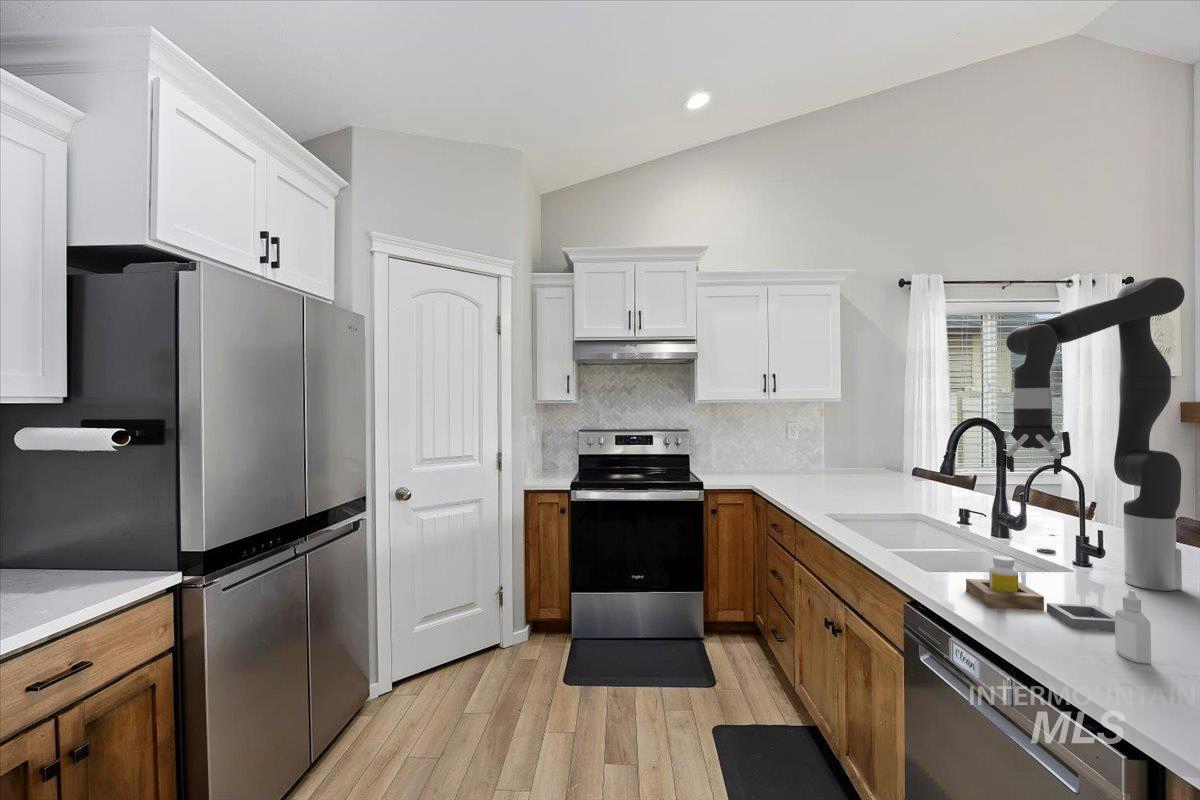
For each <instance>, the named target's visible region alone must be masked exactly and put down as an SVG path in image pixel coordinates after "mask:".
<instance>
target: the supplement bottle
mask: <svg viewBox="0 0 1200 800" xmlns="http://www.w3.org/2000/svg"><path fill="white" fill-rule="evenodd" d="M1014 566H1015V558H1013V557H1009V556H1004V555H995V556H992V565H991V566H990V567H989V570H988V571H989V572H988V573H989V579H988V580H989V584H990V589H991V590H993V591H996V592H1018V582H1019V571H1018V570H1017V569H1016V568H1015V567H1014Z"/></svg>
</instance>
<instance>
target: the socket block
mask: <svg viewBox="0 0 1200 800" xmlns="http://www.w3.org/2000/svg"><path fill="white" fill-rule="evenodd" d="M965 592H966V593H968V594H969V595H971V596H972V597H973V598H975V599H976V600H977V601H979V602H980V603H981V604H983V605H984V606H985V607H987V608H989V609H1005V608H1006V609H1007V610H1009V609H1010V610H1024V609H1026V610H1027V611H1028V610H1029V611H1043V612H1044V611H1045V596H1043V595H1042V594H1040V593H1038V592H1037V591H1035V590H1034V589H1031V588H1030V587H1028V586H1026V585H1025V584H1023V583H1021V582H1019V581H1018V592H996V591H993V590H991V589H990V584H989V579H981V578H980V579H979V578H978V579H977V578H976V579H975V578H965Z"/></svg>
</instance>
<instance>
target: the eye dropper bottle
mask: <svg viewBox="0 0 1200 800" xmlns="http://www.w3.org/2000/svg"><path fill="white" fill-rule="evenodd" d="M1114 616H1115V631H1114V645H1115V646H1114V647H1115V651H1116V653H1117V654H1118V655H1119V656H1121V657H1122V658H1124V659H1125V660H1128V661H1131V662H1133V663H1136V664H1144V665H1145V664H1147V665H1149V664H1151V663H1152V636H1151V635H1152V631H1151V629H1152V628H1151V627H1152V626H1151V621H1150V619H1149V618H1148V617H1147V615H1145V613H1144V612H1142V599H1141V598H1140V597H1137V595H1136V592H1135V590H1133V589H1129V590H1128V593H1127V595H1123V596H1122V608H1121V607H1120V608H1118V609H1117V608H1116V609H1115V611H1114Z"/></svg>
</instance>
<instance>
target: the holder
mask: <svg viewBox="0 0 1200 800" xmlns="http://www.w3.org/2000/svg"><path fill="white" fill-rule="evenodd" d="M1046 613H1048V614H1049V615H1051V617H1053V618H1055V619H1057V620H1058V621H1060V622H1061V623H1063V624H1065V625H1066V626H1067V627H1069V626H1070V627H1069V628H1071V629H1073V630H1087V629H1098V630H1097V631H1104V630H1108V631H1107V632H1115V615H1113V614H1111V613H1110V612H1107V611H1105V610H1103V609H1102V608H1101V607H1098V606H1097V605H1095V604H1076V603H1075V604H1073V603H1053V602H1051V603H1050V602H1046ZM1091 616H1093V617H1091Z"/></svg>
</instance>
